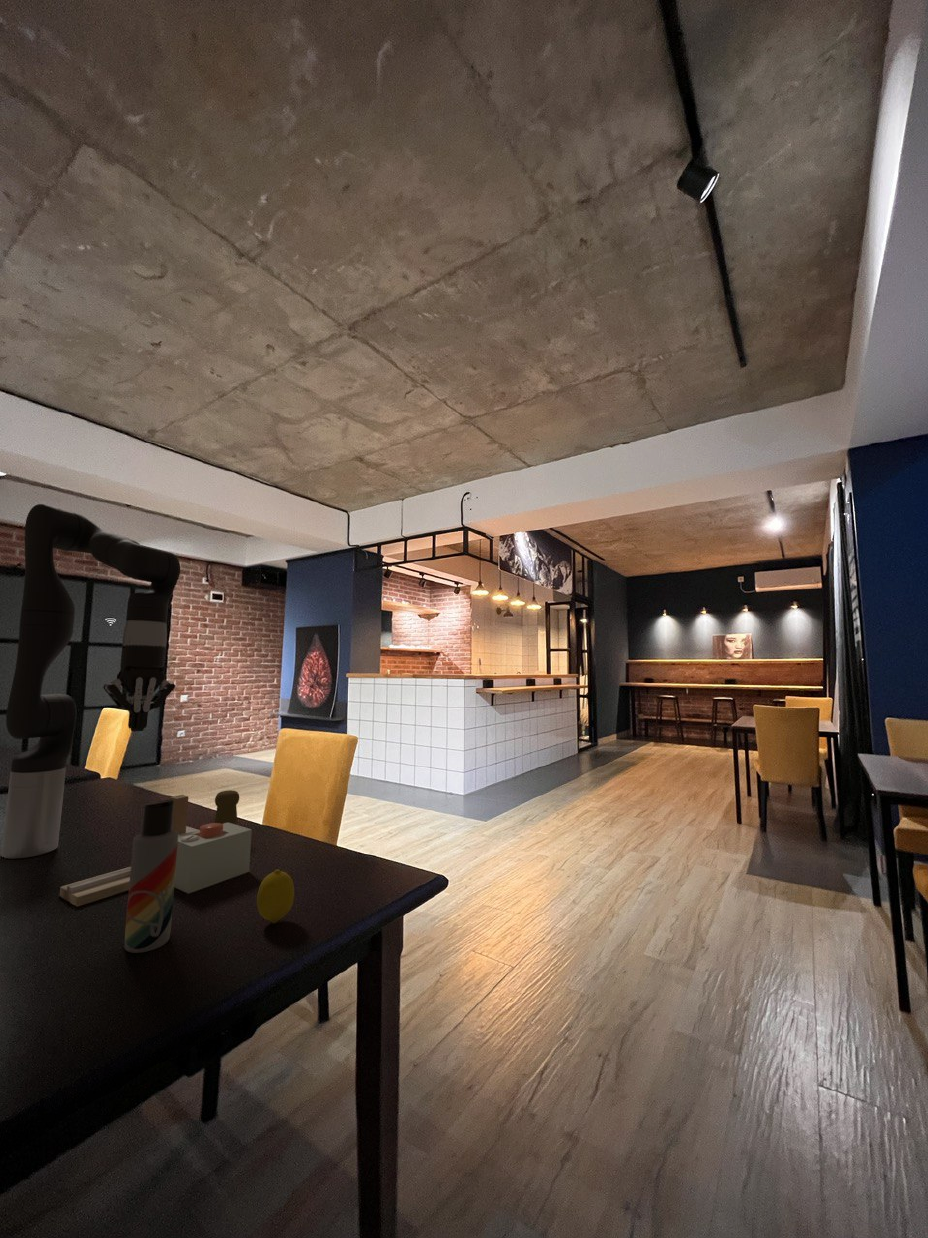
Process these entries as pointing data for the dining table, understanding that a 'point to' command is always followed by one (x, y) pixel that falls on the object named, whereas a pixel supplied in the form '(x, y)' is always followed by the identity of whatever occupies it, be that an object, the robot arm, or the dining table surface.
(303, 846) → the dining table surface
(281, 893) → the lemon
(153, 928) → the lotion bottle
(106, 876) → the rail
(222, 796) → the dark brown knob shape
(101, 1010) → the dining table surface
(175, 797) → the carriage
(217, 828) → the gauge plunger
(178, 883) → the cabinet
